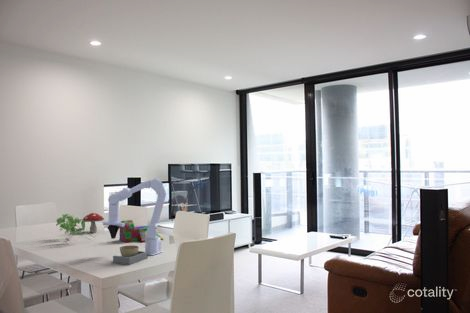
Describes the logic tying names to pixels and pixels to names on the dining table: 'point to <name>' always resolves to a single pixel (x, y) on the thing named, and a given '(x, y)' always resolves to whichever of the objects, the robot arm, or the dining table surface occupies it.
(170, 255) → the dining table surface
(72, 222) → the plant cuttings
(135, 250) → the flower pot
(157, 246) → the robot arm
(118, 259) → the bracket
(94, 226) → the decorative mushroom
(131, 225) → the puzzle
